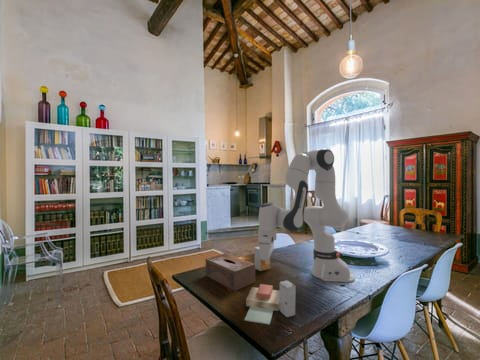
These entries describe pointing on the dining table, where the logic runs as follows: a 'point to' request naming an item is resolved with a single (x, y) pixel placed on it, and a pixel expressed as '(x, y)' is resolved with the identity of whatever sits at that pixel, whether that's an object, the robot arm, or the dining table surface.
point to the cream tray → (263, 300)
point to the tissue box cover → (230, 271)
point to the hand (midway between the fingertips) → (267, 263)
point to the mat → (259, 315)
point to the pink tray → (264, 291)
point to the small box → (260, 261)
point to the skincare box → (287, 298)
